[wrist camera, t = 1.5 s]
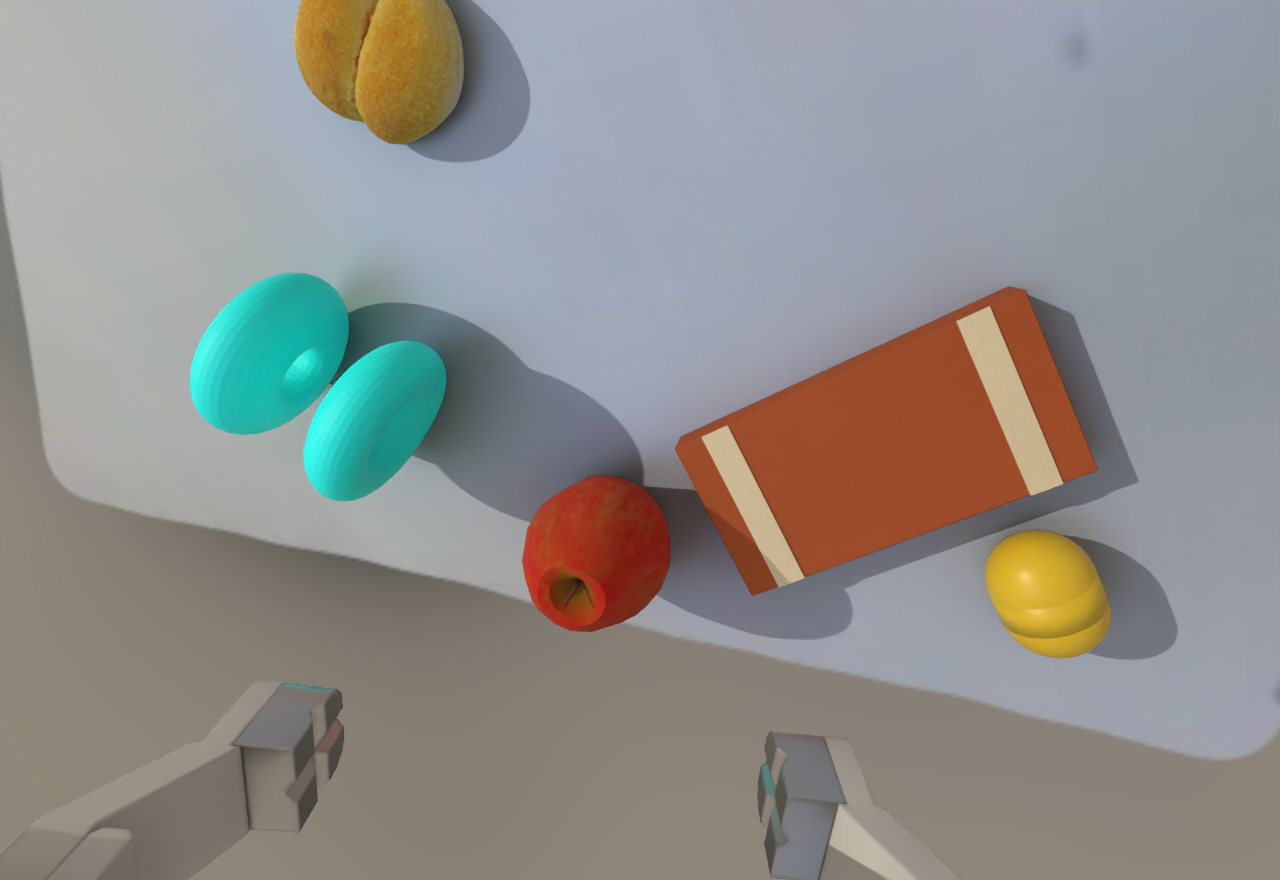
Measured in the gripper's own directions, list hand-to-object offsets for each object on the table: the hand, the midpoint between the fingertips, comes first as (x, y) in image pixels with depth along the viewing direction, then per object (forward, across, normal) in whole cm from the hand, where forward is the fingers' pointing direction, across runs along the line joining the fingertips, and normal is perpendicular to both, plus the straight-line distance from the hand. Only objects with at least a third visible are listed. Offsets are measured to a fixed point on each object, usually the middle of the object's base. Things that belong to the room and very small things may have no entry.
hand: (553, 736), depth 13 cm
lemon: (+24, -24, +7) cm, 35 cm away
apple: (+28, -1, +8) cm, 29 cm away
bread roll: (+31, +14, -16) cm, 38 cm away
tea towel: (+26, -14, +1) cm, 29 cm away
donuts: (+31, +16, +1) cm, 35 cm away
